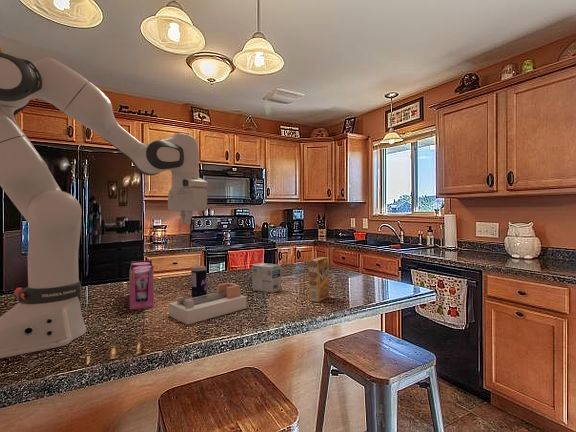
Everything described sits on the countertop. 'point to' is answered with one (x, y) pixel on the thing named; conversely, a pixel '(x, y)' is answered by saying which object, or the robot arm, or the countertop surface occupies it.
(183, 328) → the countertop surface
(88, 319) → the countertop surface
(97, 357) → the countertop surface
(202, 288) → the beverage can
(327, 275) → the candy box
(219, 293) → the dark grey flat bar
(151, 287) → the gum box
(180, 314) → the hinged pedal on base
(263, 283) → the light bulb box
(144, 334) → the countertop surface
